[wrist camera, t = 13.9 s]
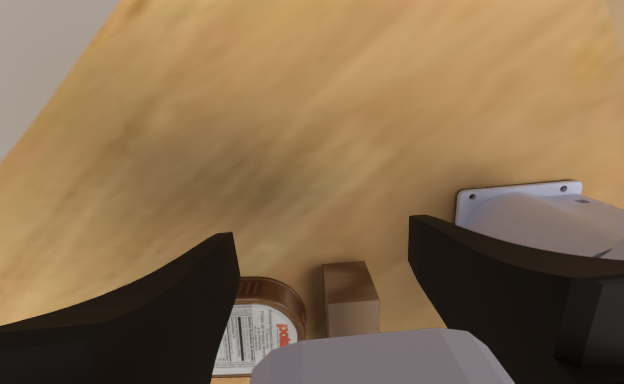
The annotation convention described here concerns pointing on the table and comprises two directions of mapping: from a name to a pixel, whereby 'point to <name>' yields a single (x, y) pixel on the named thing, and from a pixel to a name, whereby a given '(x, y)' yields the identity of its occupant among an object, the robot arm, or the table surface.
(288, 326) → the tin
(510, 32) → the table surface
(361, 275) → the brown rectangular block
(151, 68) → the table surface
